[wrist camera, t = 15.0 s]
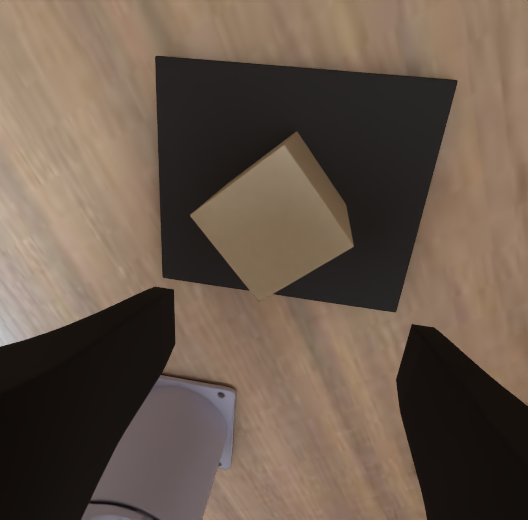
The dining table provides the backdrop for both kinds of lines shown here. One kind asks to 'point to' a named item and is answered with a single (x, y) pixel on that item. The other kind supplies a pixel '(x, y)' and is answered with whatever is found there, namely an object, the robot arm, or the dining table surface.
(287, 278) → the block
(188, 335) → the dining table surface
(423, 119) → the mat
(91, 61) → the dining table surface
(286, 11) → the dining table surface
